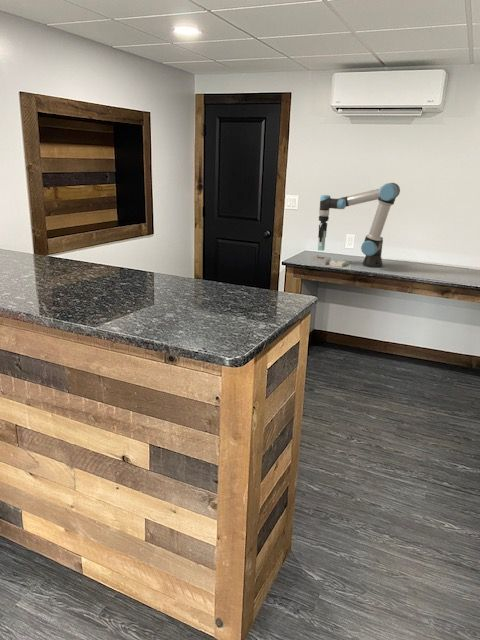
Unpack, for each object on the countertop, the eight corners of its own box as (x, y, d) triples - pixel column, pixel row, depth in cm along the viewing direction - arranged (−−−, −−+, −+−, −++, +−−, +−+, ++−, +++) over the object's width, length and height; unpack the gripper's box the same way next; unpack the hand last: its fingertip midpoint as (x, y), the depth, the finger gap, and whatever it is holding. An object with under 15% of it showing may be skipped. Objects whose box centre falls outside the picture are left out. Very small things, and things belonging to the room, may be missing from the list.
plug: (324, 249, 401) (325, 231, 396) (322, 250, 397) (324, 231, 392) (319, 249, 402) (321, 230, 398) (317, 250, 399) (319, 231, 394)
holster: (345, 264, 399) (345, 261, 398) (341, 266, 390) (342, 263, 390) (333, 263, 403) (333, 259, 402) (329, 265, 395) (329, 262, 394)
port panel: (330, 262, 405) (330, 256, 404) (325, 265, 395) (325, 259, 394) (316, 260, 411) (316, 255, 409) (310, 263, 401) (311, 257, 399)
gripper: (323, 214, 400) (320, 243, 408) (315, 216, 386) (313, 246, 393) (332, 215, 397) (329, 244, 404) (324, 217, 382) (322, 247, 390)
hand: (321, 245), depth 399 cm, fingers closed on plug, 4 cm apart
